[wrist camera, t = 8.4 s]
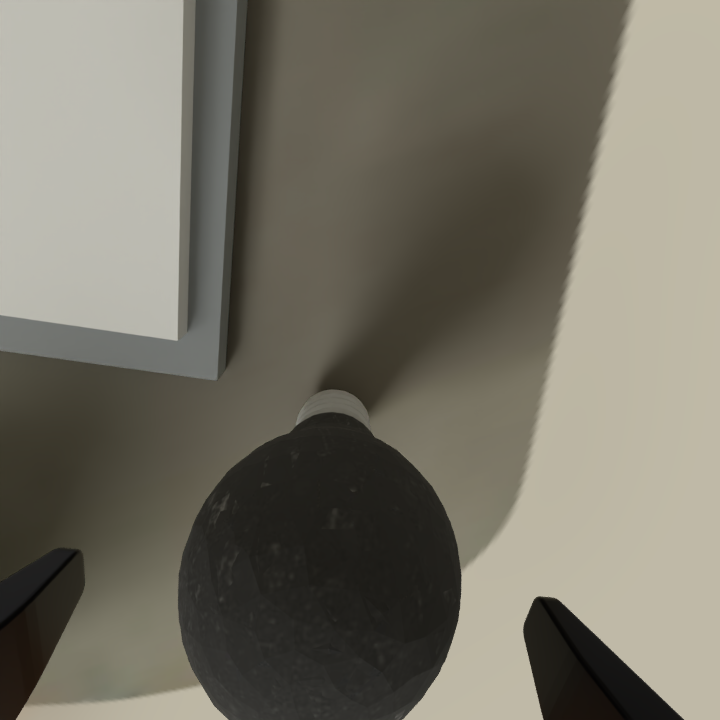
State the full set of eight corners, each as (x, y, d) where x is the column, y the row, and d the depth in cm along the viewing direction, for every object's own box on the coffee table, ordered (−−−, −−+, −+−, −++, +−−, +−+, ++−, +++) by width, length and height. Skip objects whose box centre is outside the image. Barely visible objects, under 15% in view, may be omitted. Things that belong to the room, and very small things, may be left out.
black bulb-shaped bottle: (435, 368, 15) (580, 646, 6) (376, 491, 17) (410, 855, 7) (284, 313, 14) (160, 530, 5) (238, 448, 16) (82, 797, 7)
